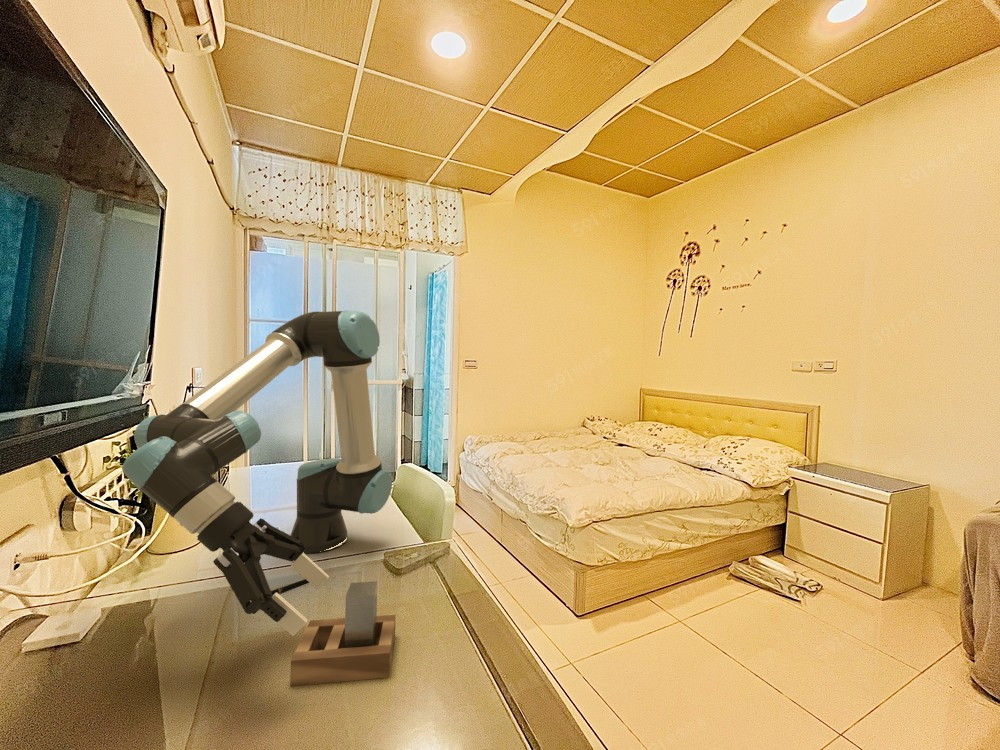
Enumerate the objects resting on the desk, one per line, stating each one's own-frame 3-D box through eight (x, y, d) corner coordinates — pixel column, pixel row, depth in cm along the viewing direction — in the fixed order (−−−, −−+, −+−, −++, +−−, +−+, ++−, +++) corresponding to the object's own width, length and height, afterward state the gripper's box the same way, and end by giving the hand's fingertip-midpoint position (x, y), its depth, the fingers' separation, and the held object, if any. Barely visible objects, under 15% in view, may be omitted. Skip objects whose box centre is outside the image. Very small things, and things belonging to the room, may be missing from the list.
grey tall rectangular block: (349, 650, 74) (350, 582, 74) (375, 647, 74) (377, 581, 74) (344, 668, 69) (345, 596, 69) (372, 665, 70) (373, 595, 70)
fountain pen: (319, 577, 99) (319, 571, 99) (321, 579, 98) (322, 572, 98) (253, 602, 88) (253, 595, 88) (255, 604, 87) (255, 597, 87)
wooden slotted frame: (310, 642, 76) (310, 620, 75) (395, 635, 78) (395, 614, 78) (290, 686, 65) (290, 660, 65) (389, 677, 68) (389, 652, 67)
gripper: (234, 508, 80) (315, 581, 82) (146, 571, 55) (267, 673, 58) (264, 480, 80) (344, 554, 83) (191, 530, 56) (308, 632, 58)
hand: (313, 603), depth 70 cm, fingers open, 13 cm apart
